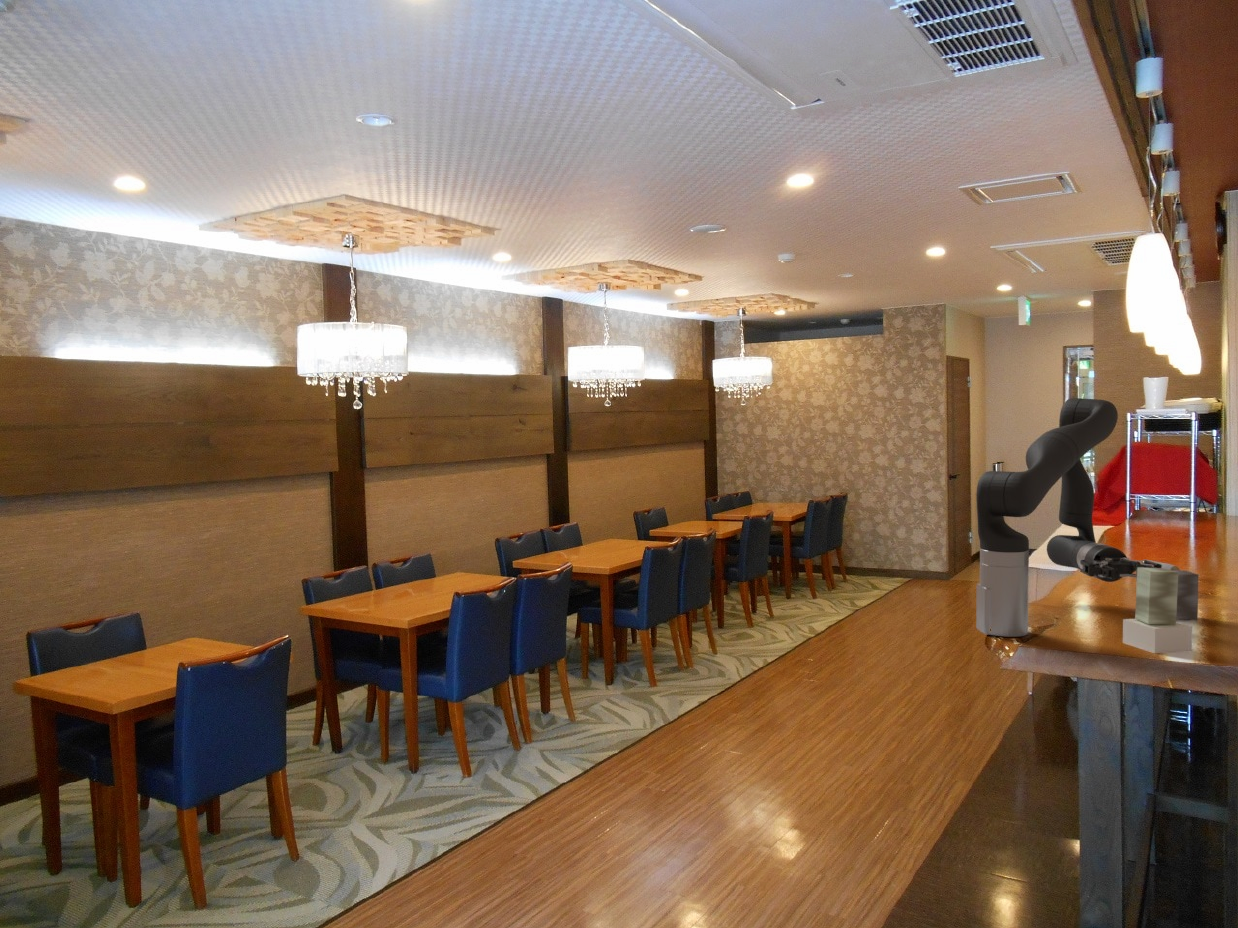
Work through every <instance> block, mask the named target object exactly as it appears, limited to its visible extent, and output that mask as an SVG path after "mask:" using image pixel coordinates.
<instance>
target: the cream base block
mask: <svg viewBox="0 0 1238 928" xmlns="http://www.w3.org/2000/svg"><path fill="white" fill-rule="evenodd" d="M1192 643H1193V626H1192V625H1189V624H1185V623H1181V622H1177V621H1176V625H1160V624H1147V623H1145V622H1142V621H1140V620H1138V619H1135V618H1123V619H1122V644H1125V645H1128V646H1131V647H1134V648H1137V649H1140V650H1142V651H1146V652H1148V653H1149V652H1150V653H1153V654H1165V653H1179V652H1192V651H1193V649H1192V648H1193V647H1192V646H1193V645H1192Z"/></svg>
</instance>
